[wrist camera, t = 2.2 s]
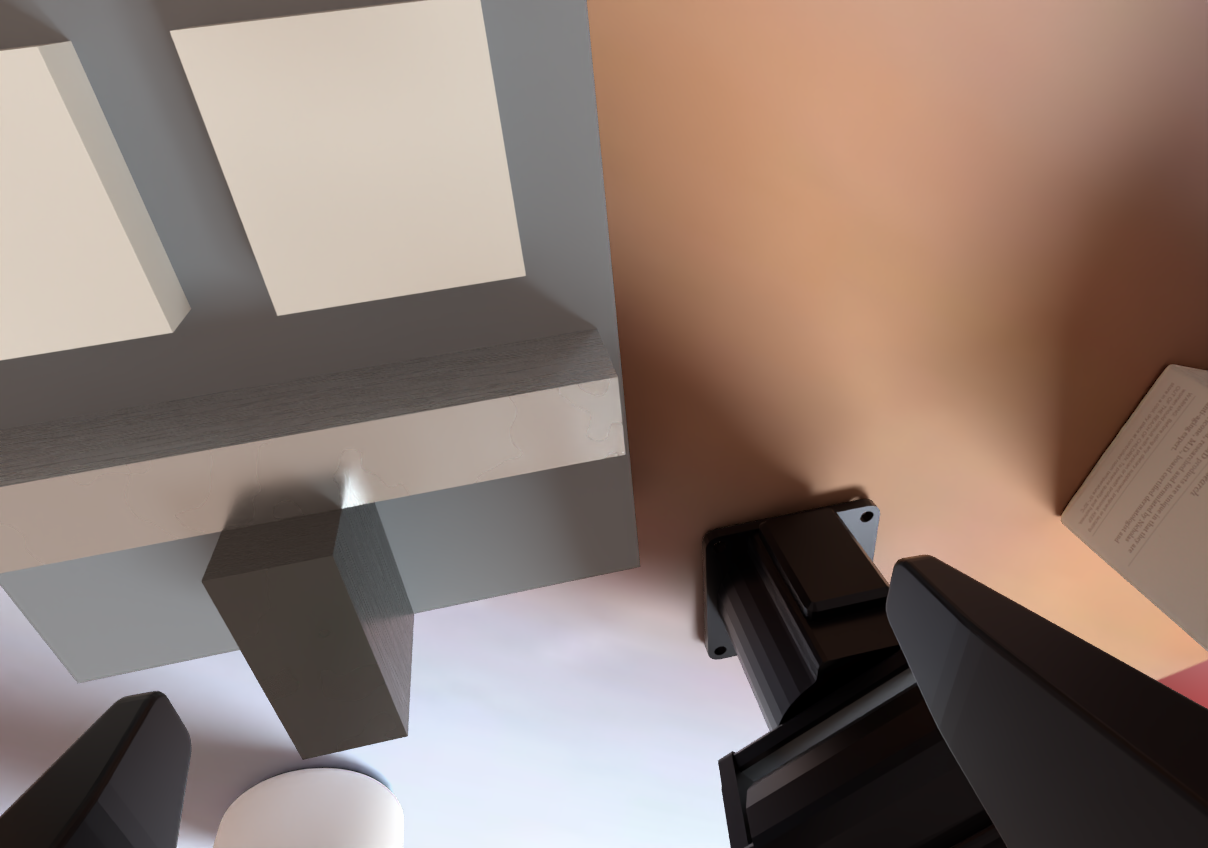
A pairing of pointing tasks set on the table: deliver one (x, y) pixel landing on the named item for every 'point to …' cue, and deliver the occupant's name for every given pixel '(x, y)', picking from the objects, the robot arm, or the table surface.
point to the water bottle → (314, 813)
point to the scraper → (308, 502)
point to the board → (325, 330)
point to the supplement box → (1155, 500)
